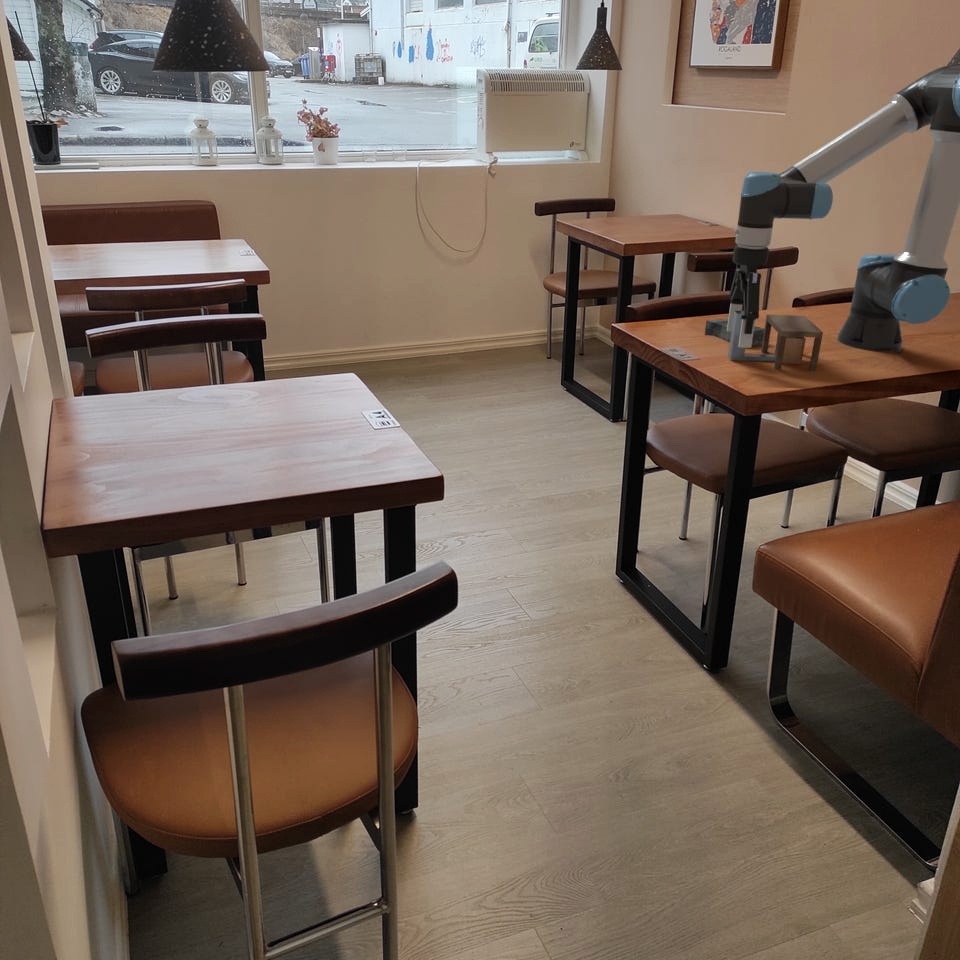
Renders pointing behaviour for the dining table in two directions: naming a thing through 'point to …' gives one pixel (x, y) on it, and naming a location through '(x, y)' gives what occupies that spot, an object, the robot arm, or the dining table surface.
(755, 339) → the stone block
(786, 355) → the grey l-shaped piece
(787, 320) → the small grey table
